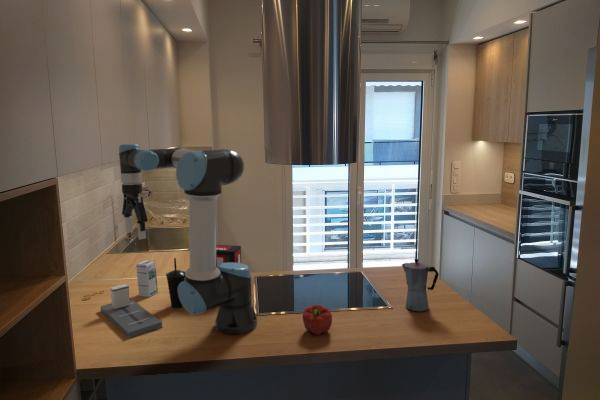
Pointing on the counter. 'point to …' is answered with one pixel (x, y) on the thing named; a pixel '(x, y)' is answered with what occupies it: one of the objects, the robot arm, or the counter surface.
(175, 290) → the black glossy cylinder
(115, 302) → the fader knob
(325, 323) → the vegetable
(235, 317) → the robot arm
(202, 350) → the counter surface
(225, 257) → the cleaning product box
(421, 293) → the moka pot
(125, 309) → the fader console
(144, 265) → the syrup box
